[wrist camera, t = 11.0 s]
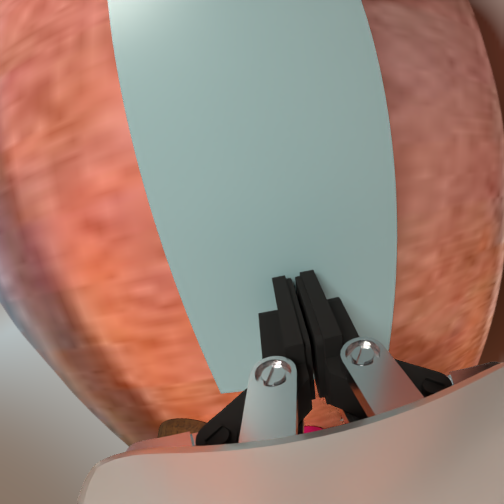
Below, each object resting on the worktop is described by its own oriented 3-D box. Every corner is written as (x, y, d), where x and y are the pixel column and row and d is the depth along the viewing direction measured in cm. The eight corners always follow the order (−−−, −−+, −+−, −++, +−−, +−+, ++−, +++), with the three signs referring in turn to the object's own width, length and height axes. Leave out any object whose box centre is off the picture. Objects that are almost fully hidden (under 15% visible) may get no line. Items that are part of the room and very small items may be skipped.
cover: (110, -65, 5) (104, -73, 4) (306, -101, 4) (309, -109, 4) (221, 382, 15) (221, 393, 14) (382, 350, 14) (387, 360, 14)
